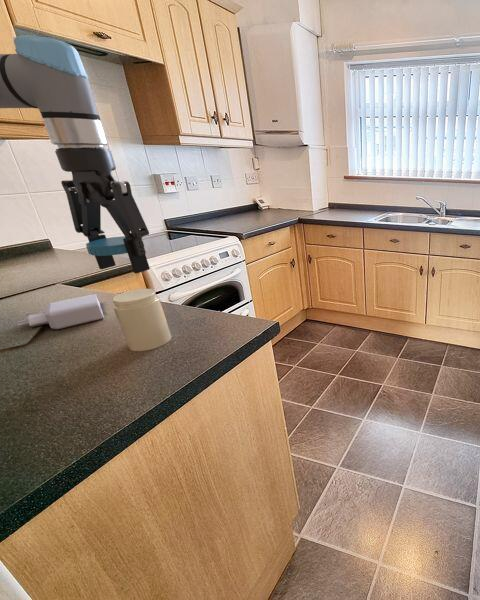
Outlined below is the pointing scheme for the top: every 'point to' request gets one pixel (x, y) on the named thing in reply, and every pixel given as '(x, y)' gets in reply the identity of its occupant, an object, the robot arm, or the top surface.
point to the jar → (142, 319)
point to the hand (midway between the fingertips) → (124, 269)
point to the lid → (107, 246)
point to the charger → (67, 313)
